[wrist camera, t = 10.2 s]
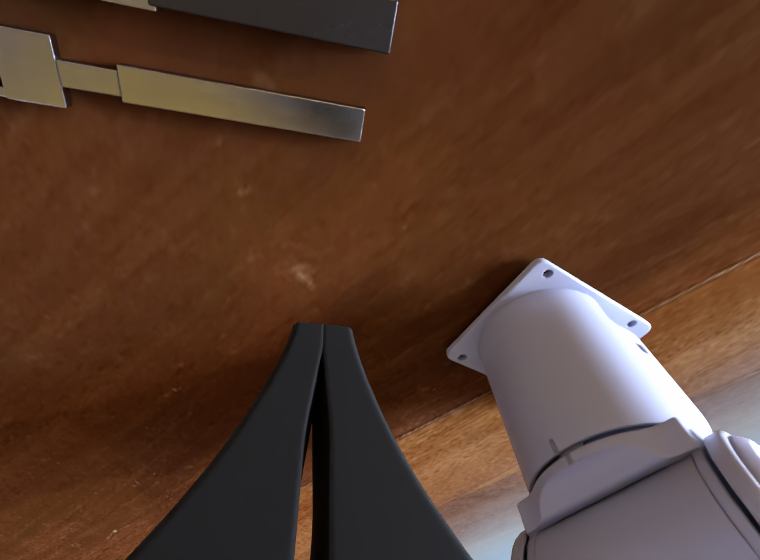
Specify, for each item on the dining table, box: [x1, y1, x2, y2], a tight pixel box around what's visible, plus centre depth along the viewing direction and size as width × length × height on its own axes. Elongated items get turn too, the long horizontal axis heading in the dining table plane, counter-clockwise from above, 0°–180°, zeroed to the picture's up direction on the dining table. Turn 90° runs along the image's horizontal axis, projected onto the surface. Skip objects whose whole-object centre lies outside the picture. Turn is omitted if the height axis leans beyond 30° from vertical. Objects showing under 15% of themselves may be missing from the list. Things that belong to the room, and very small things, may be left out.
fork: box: [0, 24, 365, 142], centre depth 15 cm, size 16×2×1 cm, turn 79°
